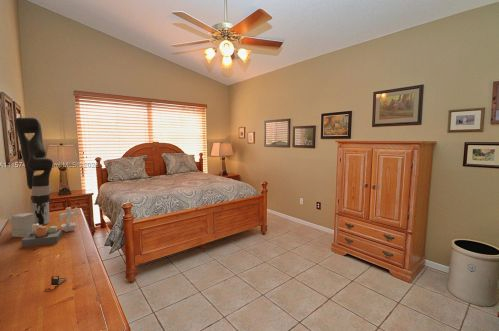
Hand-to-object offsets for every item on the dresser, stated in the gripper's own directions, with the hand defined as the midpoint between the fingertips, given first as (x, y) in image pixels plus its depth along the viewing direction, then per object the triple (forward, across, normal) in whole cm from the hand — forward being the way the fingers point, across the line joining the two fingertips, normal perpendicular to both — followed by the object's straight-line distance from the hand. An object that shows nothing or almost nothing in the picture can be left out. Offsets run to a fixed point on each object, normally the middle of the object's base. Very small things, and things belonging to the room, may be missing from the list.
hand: (41, 224), depth 133 cm
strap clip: (+12, +52, +16) cm, 56 cm away
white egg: (+8, -6, -3) cm, 11 cm away
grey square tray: (+11, -3, 0) cm, 11 cm away
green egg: (+10, -6, +4) cm, 12 cm away
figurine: (+11, -18, +10) cm, 23 cm away
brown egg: (+8, 0, 0) cm, 8 cm away
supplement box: (+11, -18, -12) cm, 25 cm away
